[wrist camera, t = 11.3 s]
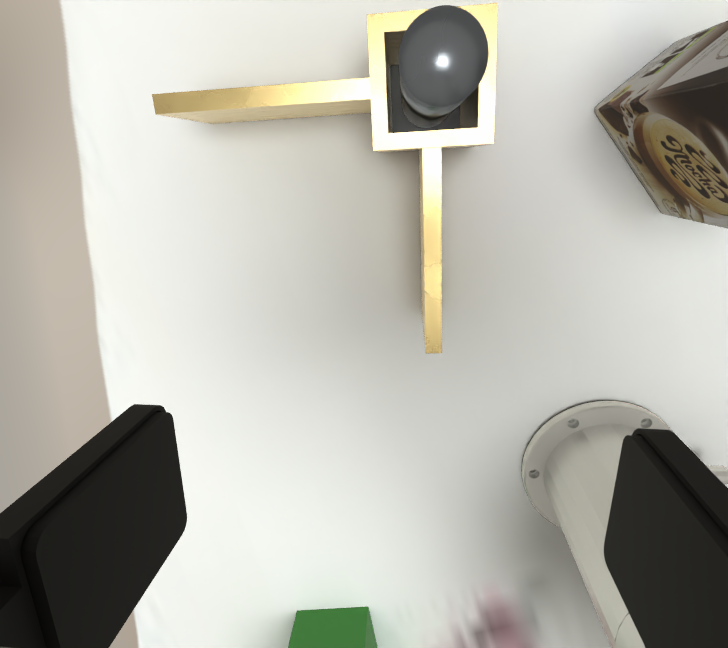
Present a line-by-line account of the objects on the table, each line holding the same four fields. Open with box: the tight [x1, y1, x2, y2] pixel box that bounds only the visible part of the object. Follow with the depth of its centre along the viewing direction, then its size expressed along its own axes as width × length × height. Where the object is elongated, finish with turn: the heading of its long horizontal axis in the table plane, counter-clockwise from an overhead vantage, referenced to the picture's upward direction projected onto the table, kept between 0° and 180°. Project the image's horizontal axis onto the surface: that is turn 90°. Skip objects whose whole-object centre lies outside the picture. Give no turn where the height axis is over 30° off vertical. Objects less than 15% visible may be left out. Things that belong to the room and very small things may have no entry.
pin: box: [398, 5, 489, 128], centre depth 25 cm, size 3×3×15 cm
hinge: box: [152, 3, 498, 353], centre depth 31 cm, size 18×18×9 cm
